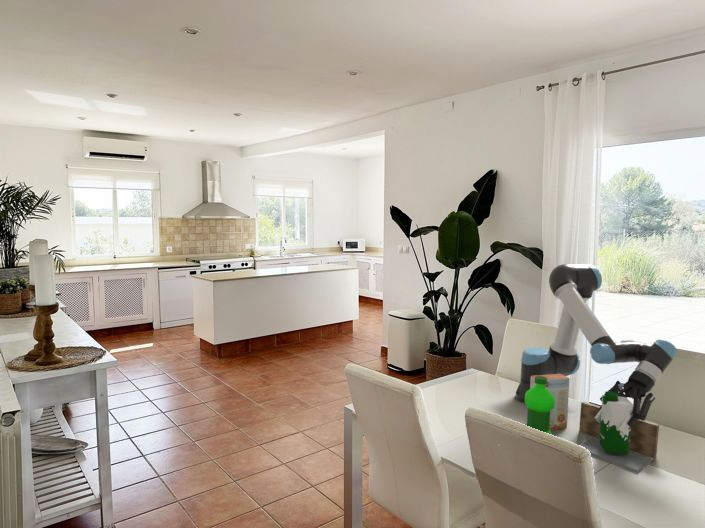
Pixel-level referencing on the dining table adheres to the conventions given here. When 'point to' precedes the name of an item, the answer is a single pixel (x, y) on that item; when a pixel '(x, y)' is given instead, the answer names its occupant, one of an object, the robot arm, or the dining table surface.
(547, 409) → the plastic bottle
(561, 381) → the cracker box
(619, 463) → the slate mat
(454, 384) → the dining table surface
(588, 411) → the walnut screen
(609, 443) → the soya milk
